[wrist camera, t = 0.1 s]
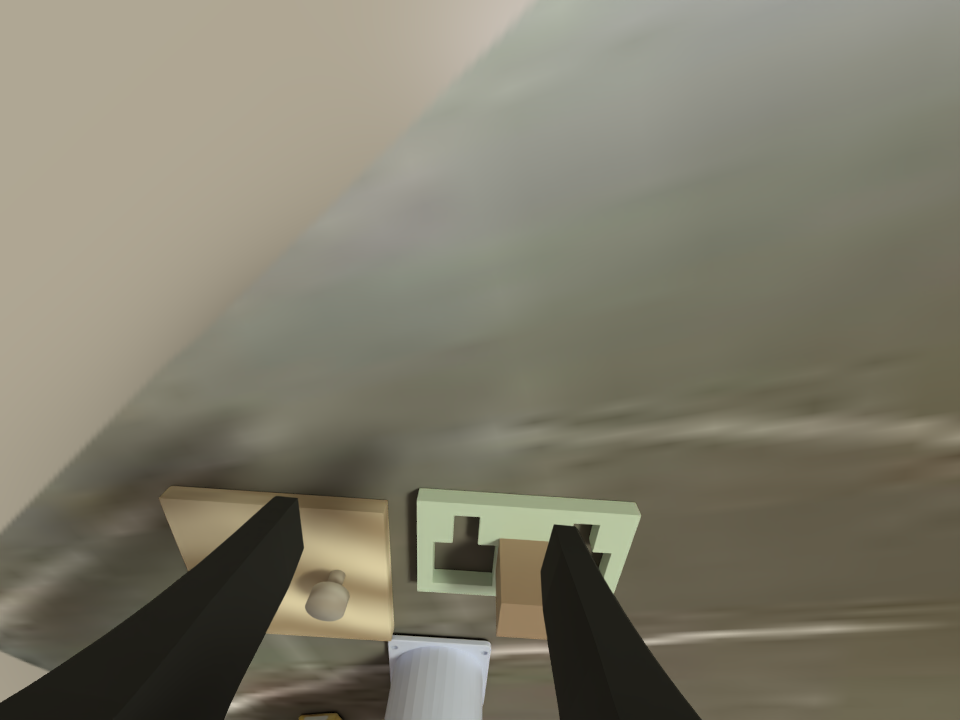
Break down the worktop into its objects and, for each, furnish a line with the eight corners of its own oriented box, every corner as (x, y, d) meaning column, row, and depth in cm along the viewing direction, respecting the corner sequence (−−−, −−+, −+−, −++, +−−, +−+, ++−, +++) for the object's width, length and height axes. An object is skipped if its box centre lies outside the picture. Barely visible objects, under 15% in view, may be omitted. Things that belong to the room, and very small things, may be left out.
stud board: (394, 627, 30) (383, 677, 27) (220, 615, 30) (191, 665, 27) (387, 500, 24) (373, 546, 21) (170, 485, 24) (125, 530, 21)
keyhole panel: (606, 589, 28) (629, 671, 23) (419, 577, 27) (406, 657, 23) (635, 502, 24) (669, 580, 19) (419, 487, 24) (403, 562, 19)
